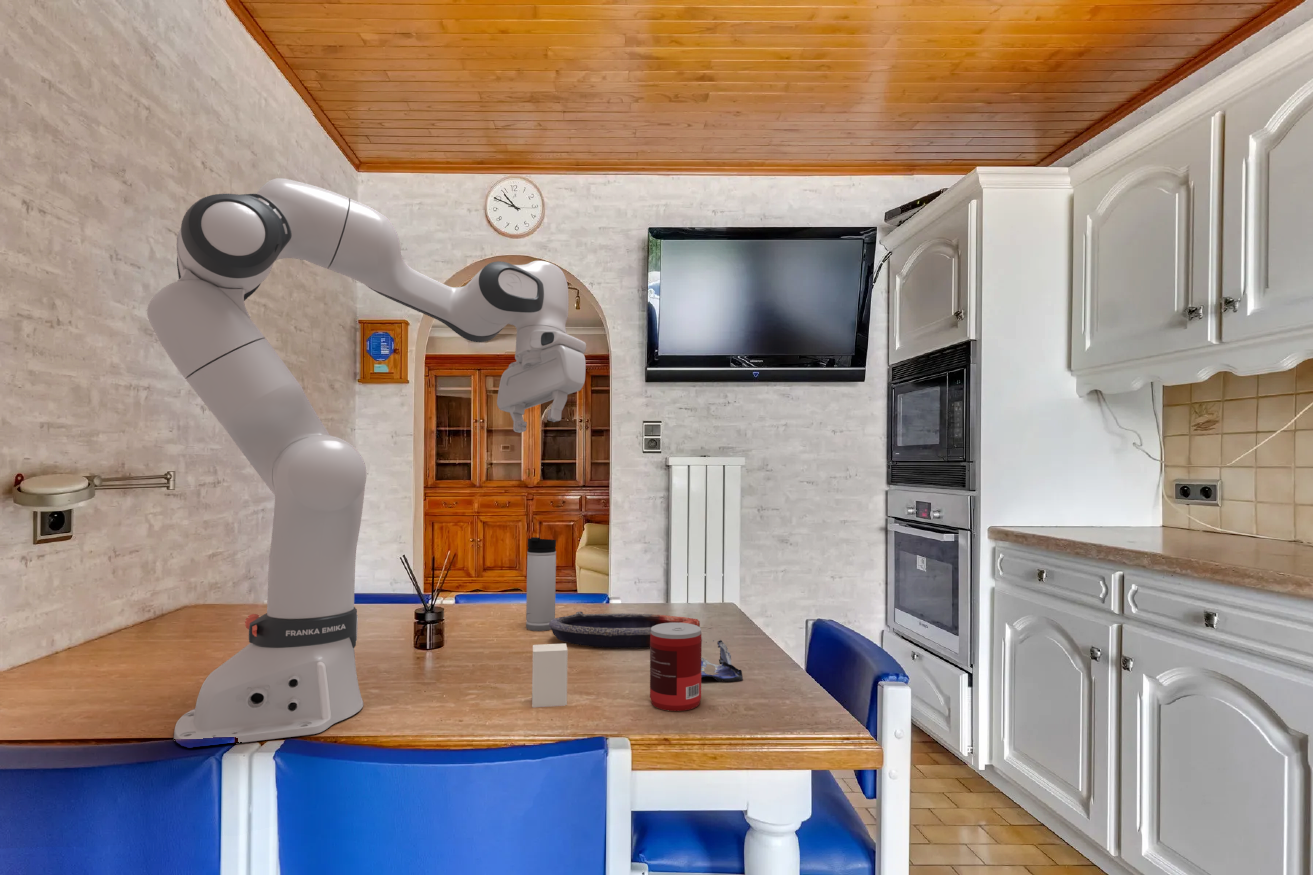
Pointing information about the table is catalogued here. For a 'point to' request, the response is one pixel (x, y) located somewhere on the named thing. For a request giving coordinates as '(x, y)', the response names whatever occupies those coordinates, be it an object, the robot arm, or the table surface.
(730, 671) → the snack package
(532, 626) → the travel mug
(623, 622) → the dish
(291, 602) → the robot arm
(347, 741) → the table surface
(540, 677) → the block
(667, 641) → the canned food
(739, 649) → the table surface
